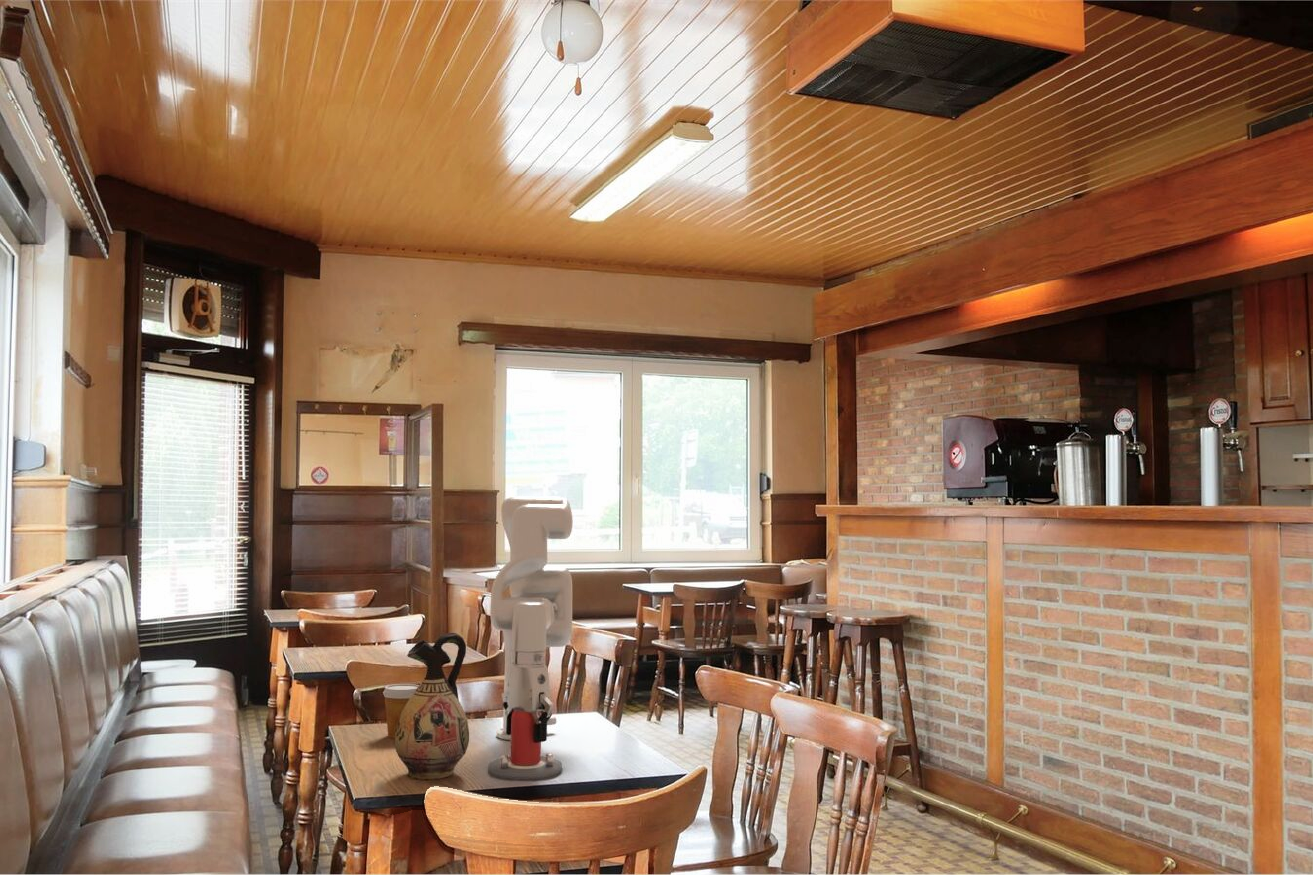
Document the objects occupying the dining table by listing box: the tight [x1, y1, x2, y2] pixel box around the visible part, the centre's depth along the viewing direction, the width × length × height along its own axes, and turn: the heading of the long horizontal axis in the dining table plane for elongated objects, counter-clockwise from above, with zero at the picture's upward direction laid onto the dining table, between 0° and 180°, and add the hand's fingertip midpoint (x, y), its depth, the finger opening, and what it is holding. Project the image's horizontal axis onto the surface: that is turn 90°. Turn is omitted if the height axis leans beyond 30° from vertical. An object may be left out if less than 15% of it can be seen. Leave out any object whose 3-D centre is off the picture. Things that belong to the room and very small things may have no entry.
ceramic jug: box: [394, 632, 470, 780], centre depth 220 cm, size 17×15×30 cm
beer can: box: [510, 707, 542, 766], centre depth 224 cm, size 7×7×12 cm
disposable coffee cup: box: [382, 683, 420, 739], centre depth 256 cm, size 10×10×12 cm
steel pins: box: [500, 753, 554, 769], centre depth 222 cm, size 10×11×2 cm
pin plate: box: [487, 755, 563, 782], centre depth 223 cm, size 16×16×2 cm
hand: (526, 737), depth 224 cm, fingers open, 9 cm apart
